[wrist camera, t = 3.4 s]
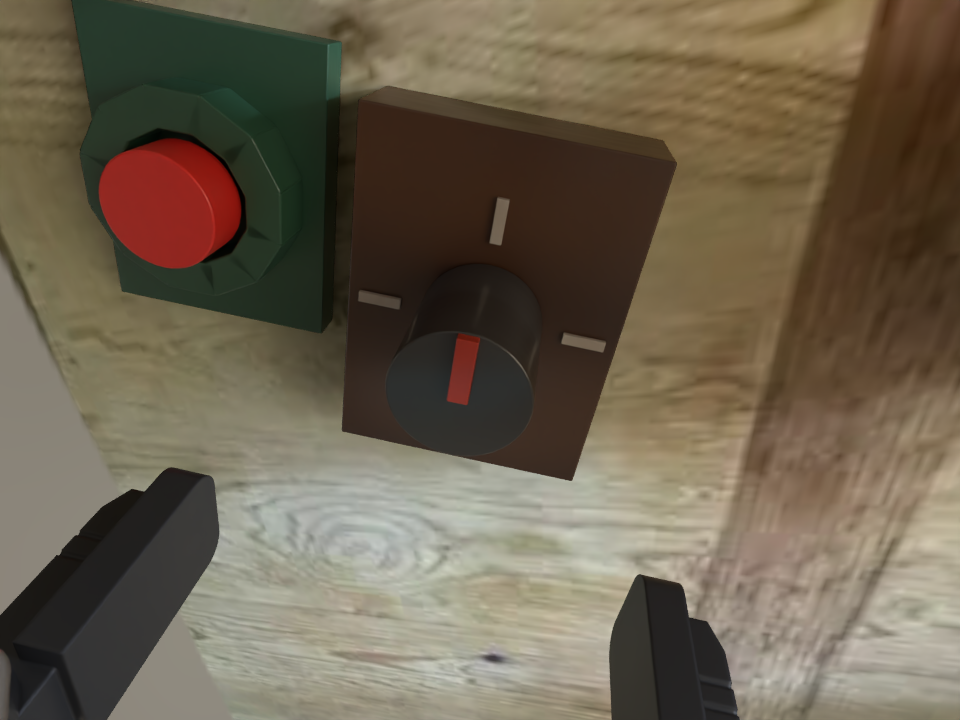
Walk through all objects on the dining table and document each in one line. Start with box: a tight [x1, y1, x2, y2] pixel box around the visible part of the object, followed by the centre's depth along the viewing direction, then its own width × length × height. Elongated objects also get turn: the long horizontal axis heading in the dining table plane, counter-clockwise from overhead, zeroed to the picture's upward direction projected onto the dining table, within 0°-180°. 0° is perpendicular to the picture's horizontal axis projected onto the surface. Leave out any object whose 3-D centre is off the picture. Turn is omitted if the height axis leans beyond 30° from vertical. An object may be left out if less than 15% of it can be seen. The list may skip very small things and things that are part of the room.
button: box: [99, 138, 241, 268], centre depth 19 cm, size 4×4×2 cm
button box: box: [71, 0, 342, 333], centre depth 20 cm, size 10×8×3 cm
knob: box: [385, 264, 542, 456], centre depth 18 cm, size 4×4×5 cm
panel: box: [342, 86, 677, 481], centre depth 21 cm, size 12×9×3 cm
